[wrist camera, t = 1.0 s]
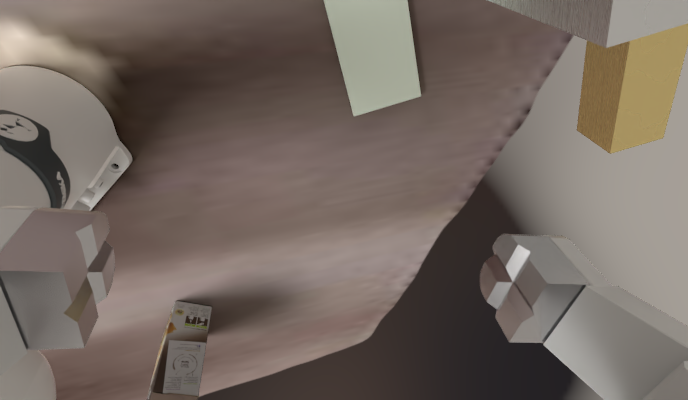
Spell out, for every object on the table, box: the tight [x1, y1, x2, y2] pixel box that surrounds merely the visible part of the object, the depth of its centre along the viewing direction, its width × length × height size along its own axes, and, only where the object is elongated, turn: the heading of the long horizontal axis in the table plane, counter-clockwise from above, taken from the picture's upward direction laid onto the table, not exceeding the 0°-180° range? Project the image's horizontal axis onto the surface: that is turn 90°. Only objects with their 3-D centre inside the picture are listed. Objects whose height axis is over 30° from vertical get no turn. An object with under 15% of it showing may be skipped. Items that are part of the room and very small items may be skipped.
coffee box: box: [147, 301, 212, 400], centre depth 64 cm, size 9×6×16 cm
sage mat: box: [324, 0, 421, 116], centre depth 46 cm, size 22×9×1 cm, turn 14°
